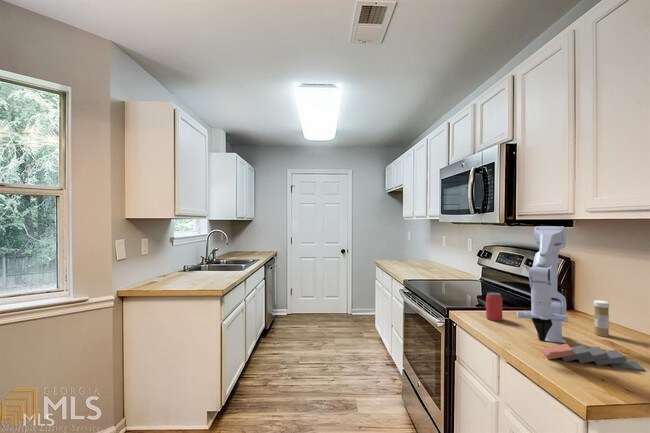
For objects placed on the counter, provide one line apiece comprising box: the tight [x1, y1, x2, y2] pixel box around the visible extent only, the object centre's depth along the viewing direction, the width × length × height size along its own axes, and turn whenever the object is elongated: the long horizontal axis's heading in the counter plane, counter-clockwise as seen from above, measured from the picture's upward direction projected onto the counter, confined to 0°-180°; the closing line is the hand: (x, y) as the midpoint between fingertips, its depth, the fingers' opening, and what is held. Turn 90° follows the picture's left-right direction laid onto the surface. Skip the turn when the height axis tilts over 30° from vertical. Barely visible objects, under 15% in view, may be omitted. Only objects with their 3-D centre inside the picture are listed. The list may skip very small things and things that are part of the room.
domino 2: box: [576, 346, 609, 365], centre depth 103 cm, size 2×5×8 cm
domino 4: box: [608, 360, 646, 372], centre depth 99 cm, size 2×5×8 cm
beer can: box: [485, 291, 503, 322], centre depth 144 cm, size 7×7×12 cm
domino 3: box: [592, 349, 627, 367], centre depth 101 cm, size 2×5×8 cm
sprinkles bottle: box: [593, 299, 610, 338], centre depth 124 cm, size 5×5×13 cm
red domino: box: [541, 343, 575, 361], centre depth 106 cm, size 2×5×8 cm
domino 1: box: [560, 344, 592, 363], centre depth 104 cm, size 2×5×8 cm
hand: (541, 340), depth 107 cm, fingers closed
